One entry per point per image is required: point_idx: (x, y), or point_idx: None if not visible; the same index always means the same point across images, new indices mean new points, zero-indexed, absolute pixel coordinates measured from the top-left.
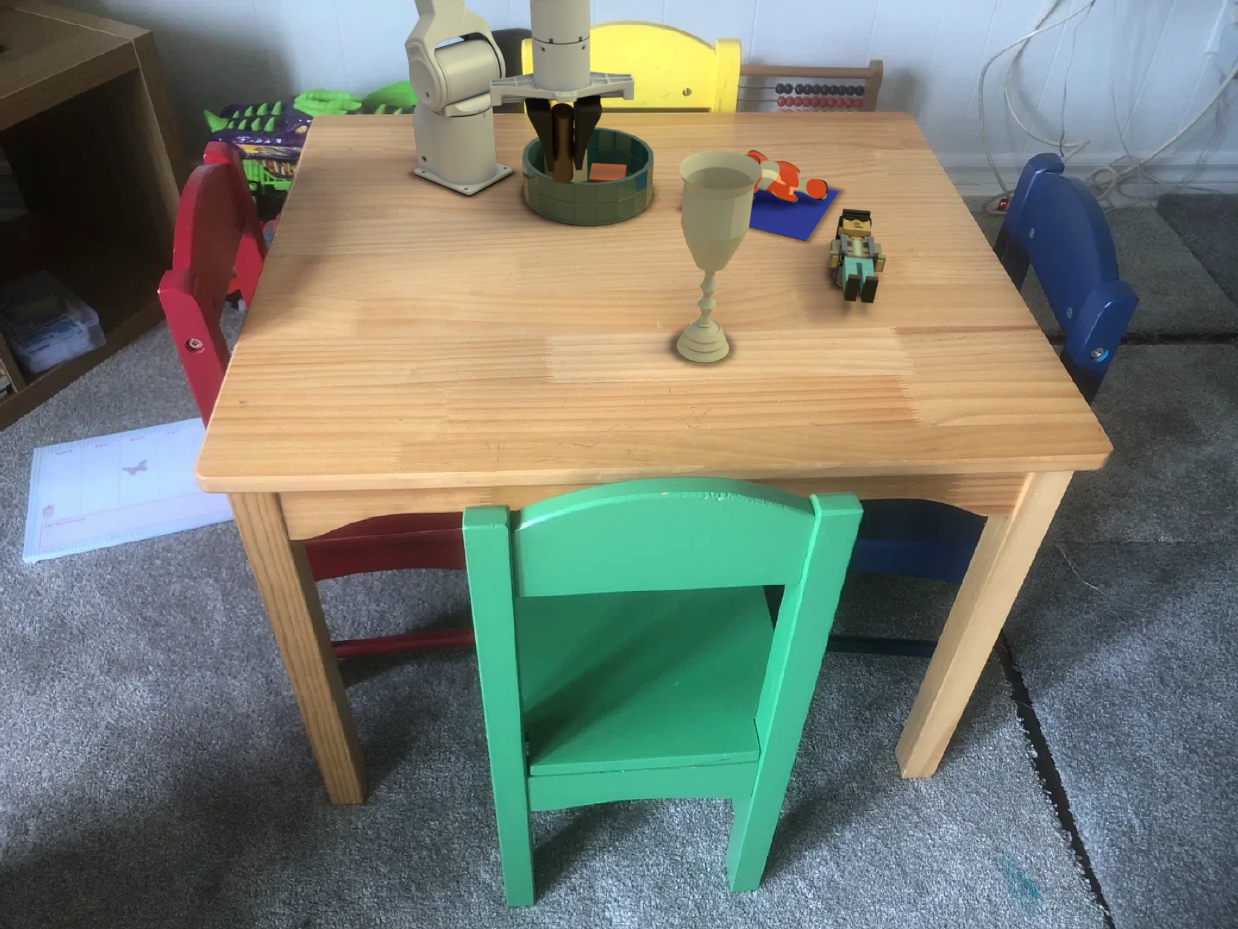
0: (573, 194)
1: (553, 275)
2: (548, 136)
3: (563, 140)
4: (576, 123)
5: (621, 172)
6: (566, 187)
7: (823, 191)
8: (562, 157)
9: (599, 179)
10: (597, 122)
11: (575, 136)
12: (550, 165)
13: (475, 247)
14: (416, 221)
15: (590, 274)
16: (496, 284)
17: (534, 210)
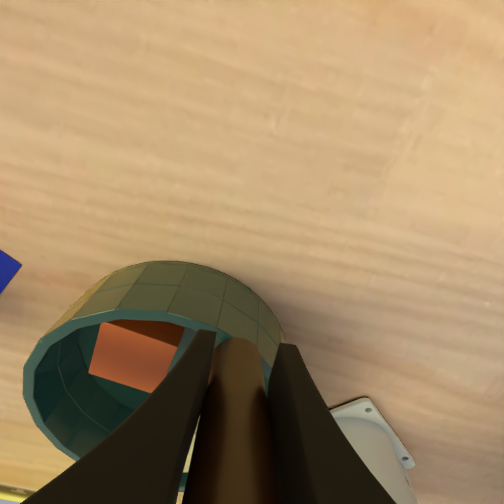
0: (224, 312)
1: (334, 106)
2: (320, 452)
3: (242, 430)
4: (172, 497)
5: (102, 350)
6: (235, 330)
7: None
8: (244, 382)
9: (155, 339)
10: (53, 479)
11: (188, 442)
12: (294, 356)
13: (430, 258)
14: (478, 358)
15: (255, 83)
16: (465, 109)
17: (283, 334)
